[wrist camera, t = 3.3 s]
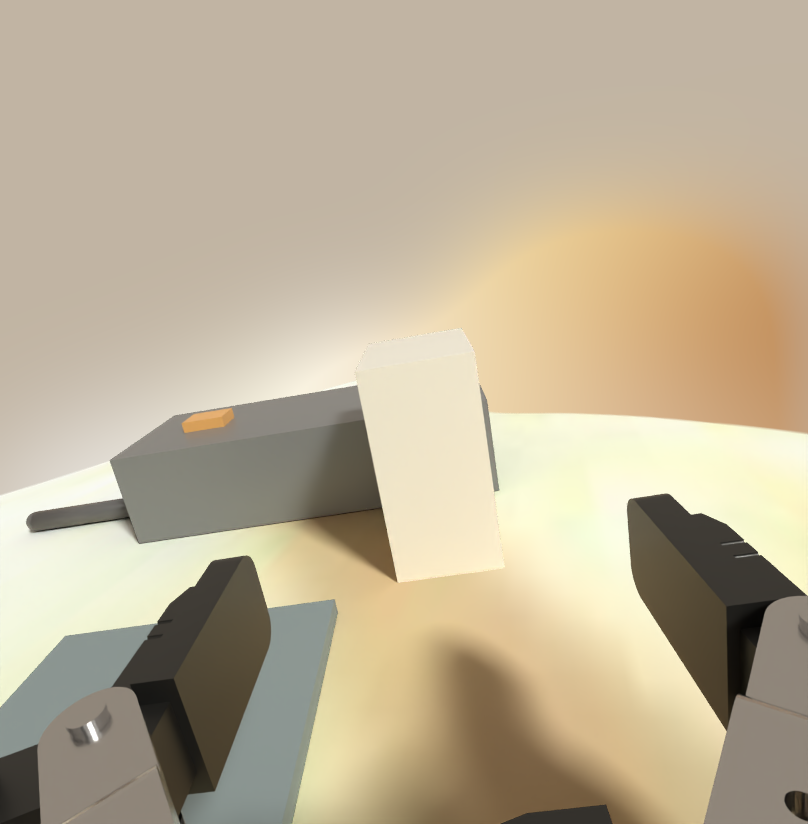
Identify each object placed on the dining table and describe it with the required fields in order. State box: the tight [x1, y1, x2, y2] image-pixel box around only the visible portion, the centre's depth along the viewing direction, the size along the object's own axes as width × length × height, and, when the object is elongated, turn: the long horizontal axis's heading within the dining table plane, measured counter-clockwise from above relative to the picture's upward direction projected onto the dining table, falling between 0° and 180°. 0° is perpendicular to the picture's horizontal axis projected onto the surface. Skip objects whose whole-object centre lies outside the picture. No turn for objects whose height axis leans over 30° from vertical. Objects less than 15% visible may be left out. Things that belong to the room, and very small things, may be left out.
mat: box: [0, 599, 338, 824], centre depth 16 cm, size 11×11×1 cm
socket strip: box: [26, 384, 499, 543], centre depth 33 cm, size 29×8×6 cm, turn 89°
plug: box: [355, 328, 505, 583], centre depth 25 cm, size 4×9×9 cm, turn 179°
